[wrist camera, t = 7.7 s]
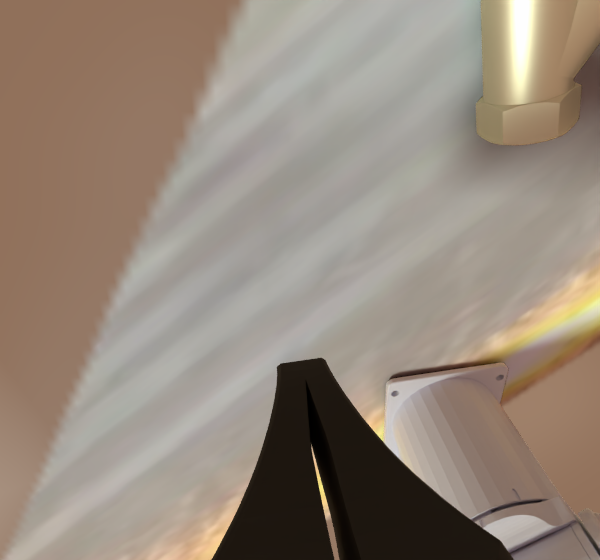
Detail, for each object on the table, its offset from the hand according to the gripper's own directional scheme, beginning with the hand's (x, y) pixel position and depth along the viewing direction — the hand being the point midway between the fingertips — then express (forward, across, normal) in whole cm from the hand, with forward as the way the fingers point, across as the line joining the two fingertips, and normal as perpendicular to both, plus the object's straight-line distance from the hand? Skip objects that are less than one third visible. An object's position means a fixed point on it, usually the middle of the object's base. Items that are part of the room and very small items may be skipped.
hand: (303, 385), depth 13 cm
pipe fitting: (+11, -12, -8) cm, 18 cm away
